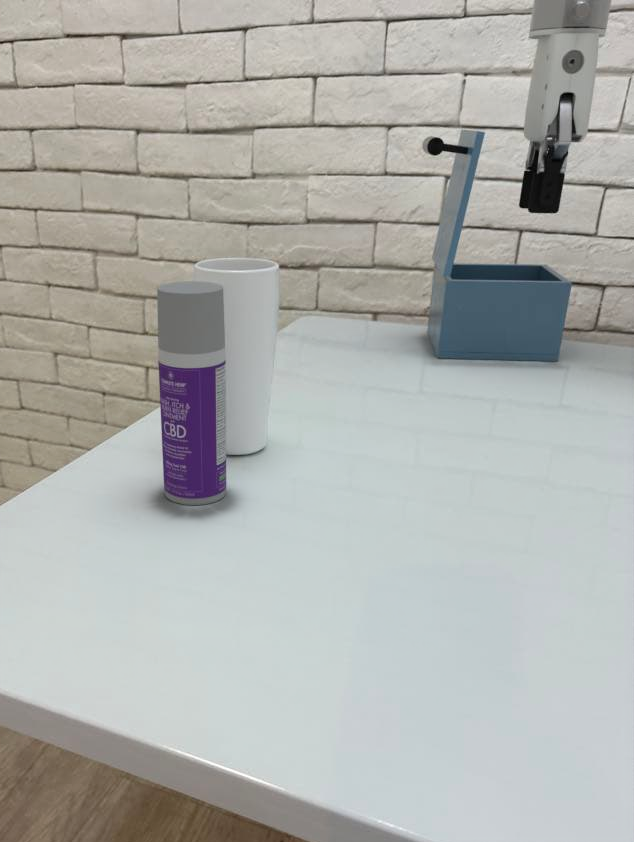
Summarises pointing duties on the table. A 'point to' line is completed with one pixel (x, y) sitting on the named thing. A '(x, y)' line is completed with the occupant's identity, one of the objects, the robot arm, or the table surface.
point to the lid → (454, 193)
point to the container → (192, 391)
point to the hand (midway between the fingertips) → (538, 208)
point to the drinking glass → (246, 344)
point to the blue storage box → (498, 312)
